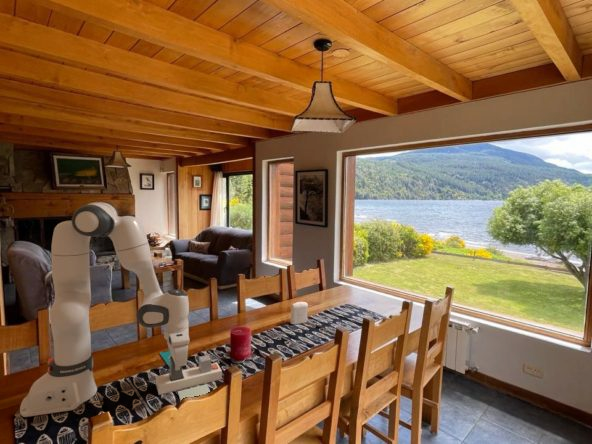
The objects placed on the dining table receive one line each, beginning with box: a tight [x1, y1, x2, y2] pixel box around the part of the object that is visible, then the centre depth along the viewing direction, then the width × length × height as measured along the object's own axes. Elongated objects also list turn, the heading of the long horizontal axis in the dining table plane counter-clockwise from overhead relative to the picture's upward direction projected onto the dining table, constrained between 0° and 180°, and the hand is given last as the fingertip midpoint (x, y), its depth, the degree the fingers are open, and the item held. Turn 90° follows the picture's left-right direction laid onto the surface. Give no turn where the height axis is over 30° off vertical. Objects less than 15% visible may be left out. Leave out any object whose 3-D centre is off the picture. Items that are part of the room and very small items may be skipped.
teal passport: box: [159, 349, 172, 369], centre depth 151 cm, size 7×1×15 cm
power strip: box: [155, 354, 223, 396], centre depth 134 cm, size 24×7×8 cm, turn 120°
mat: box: [177, 383, 211, 402], centre depth 127 cm, size 11×7×1 cm, turn 120°
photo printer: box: [289, 301, 309, 325], centre depth 196 cm, size 10×4×12 cm, turn 116°
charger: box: [168, 356, 183, 381], centre depth 131 cm, size 4×4×9 cm
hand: (175, 365), depth 131 cm, fingers closed on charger, 4 cm apart
